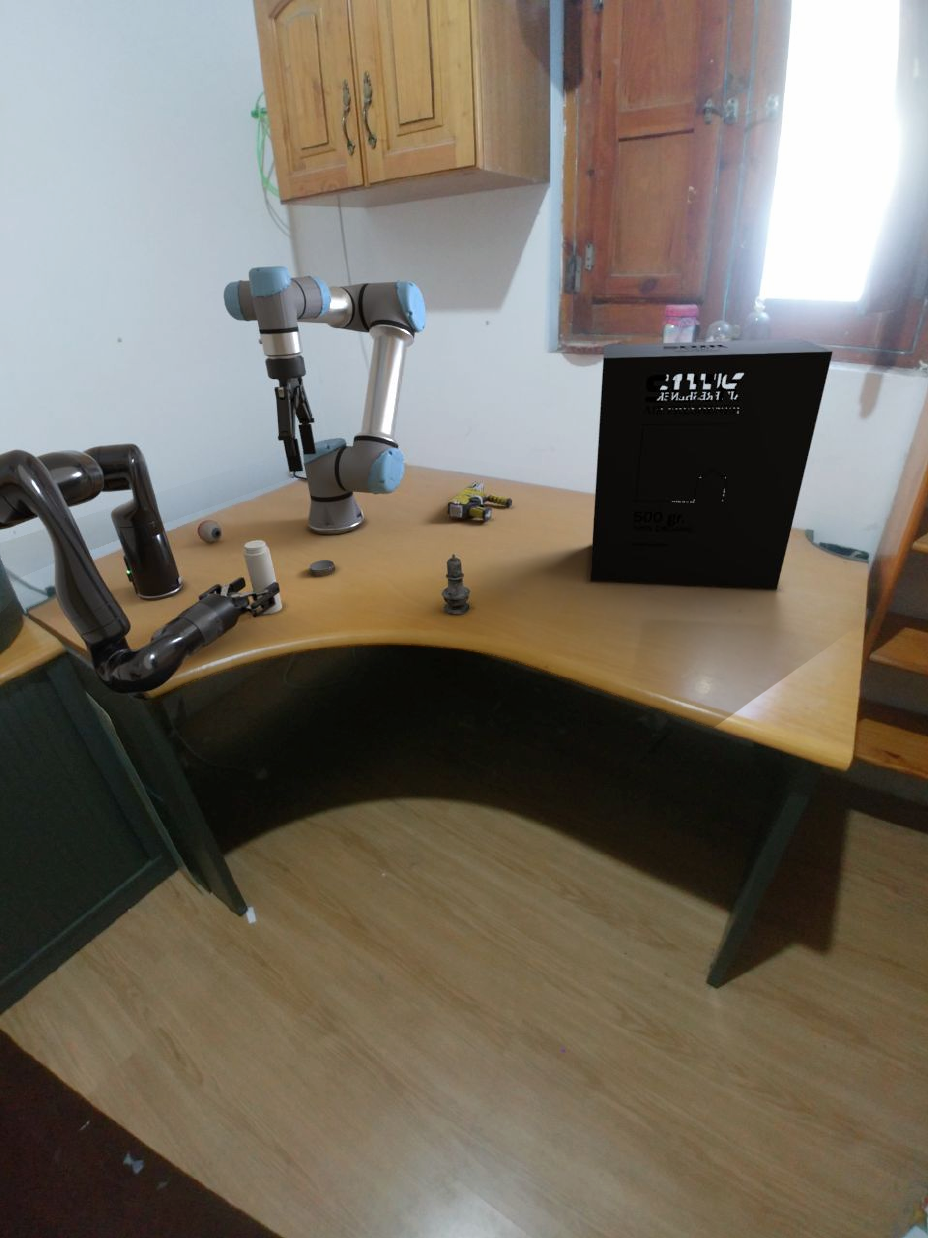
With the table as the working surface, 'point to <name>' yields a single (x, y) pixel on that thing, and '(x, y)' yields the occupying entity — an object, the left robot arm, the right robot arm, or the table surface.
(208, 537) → the eyeball
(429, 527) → the table surface
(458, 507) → the toy gun
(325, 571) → the lid
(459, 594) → the dark grey tiered figure
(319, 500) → the right robot arm
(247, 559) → the bottle
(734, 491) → the cardboard box
